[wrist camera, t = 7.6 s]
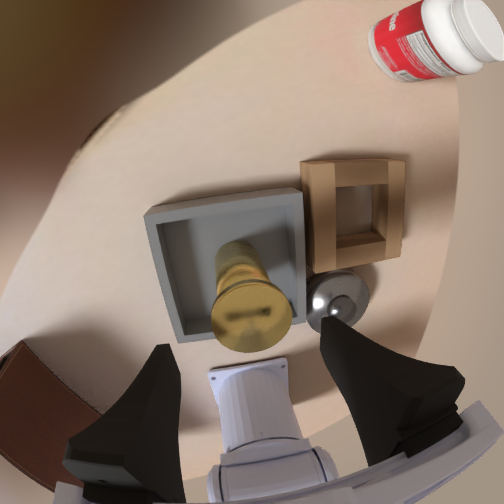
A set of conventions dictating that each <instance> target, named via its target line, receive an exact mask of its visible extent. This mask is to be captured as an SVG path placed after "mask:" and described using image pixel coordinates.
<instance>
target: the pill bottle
mask: <svg viewBox="0 0 504 504" xmlns="http://www.w3.org/2000/svg"><path fill="white" fill-rule="evenodd" d="M368 46H369V50H370V53H371V55H372V57H373V59H374V61H375V62H376V64H377V65H378V66H379V67H380V69H381V70H382V71H383V72H384V73H386V74H387V75H388V76H390V77H391V78H393V79H395V80H397V81H401V82H414V81H421V80H426V79H433V78H440V77H448V76H457V75H468V74H474V73H476V72H478V71H479V70H480V69H481V68H482V67H483V65H484V63H485V62H488V63H492V62H499V61H504V34H503V32H502V29H501V27H500V25H499V23H498V21H497V19H496V18H495V16H494V15H493V13H492V12H491V10H490V9H489V8H488V7H487V6H486V5H485V4H484V3H483V2H482V1H481V0H421V1H419V2H417V3H415V4H412V5H410V6H408V7H406V8H404V9H402V10H400V11H398V12H396V13H394V14H392V15H390V16H388V17H386V18H384V19H383V20H381V21H379V22H377V23H376V24H374V25H373V26H372V27H371V29H370V31H369V34H368Z"/></svg>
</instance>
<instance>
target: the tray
mask: <svg viewBox="0 0 504 504" xmlns="http://www.w3.org/2000/svg"><path fill="white" fill-rule="evenodd" d="M144 221H145V226H146V230H147V235H148V239H149V243H150V247H151V252H152V256H153V260H154V264H155V268H156V271H157V275H158V279H159V283H160V286H161V290H162V293H163V297H164V300H165V304H166V307H167V310H168V314H169V317H170V320H171V323H172V326H173V330H174V333H175V336H176V339H177V342H178V343H186V342H194V341H202V340H209V339H216V337H215V335H214V333H213V330H212V324H211V310H212V306H213V303H214V301H215V299H216V297H217V290H216V277H215V262H214V261H215V256H216V253H217V252H218V250H219V249H220V248H221V247H222V246H223V245H224V244H226V243H228V242H231V241H237V240H239V241H245V242H247V243H249V244H251V245H252V246H253V247H254V248H255V249H256V250H257V252H258V255H259V257H260V259H261V261H262V263H263V266H264V268H265V270H266V272H267V274H268V277H269V279H270V281H271V283H273V284H274V285H276V286H277V287H278V288H280V289H281V290H282V292H283V293H284V294H285V296H286V298H287V300H288V302H289V304H290V306H291V309H292V323H291V325H295V324H300V323H305V322H306V261H305V232H304V211H303V193H302V192H300V191H299V190H297V189H295V188H293V187H283V188H274V189H266V190H257V191H250V192H242V193H235V194H227V195H221V196H214V197H207V198H201V199H195V200H188V201H182V202H177V203H171V204H165V205H160V206H154V207H151V208H150V209H149V210H148V211H147V212H146V214H145V215H144Z"/></svg>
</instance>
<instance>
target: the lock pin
mask: <svg viewBox="0 0 504 504" xmlns="http://www.w3.org/2000/svg"><path fill="white" fill-rule="evenodd" d="M214 262H215V277H216V290H217V297H216V299H215V301H214V303H213V306H212V310H211V324H212V330H213V333H214V335H215V337H216V338H217V340H218V341H219V342H220V343H221V344H222V345H224V346H225V347H227V348H229V349H231V350H234V351H238V352H244V353H251V352H258V351H262V350H265V349H268V348H270V347H272V346H274V345H275V344H277V343H278V342H279V341H280V340H282V338H283V337H284V336H285V335H286V334H287V332H288V330H289V329H290V326H291V323H292V309H291V306H290V304H289V302H288V300H287V298H286V296H285V294H284V293H283V292H282V290H281V289H280V288H278V287H277V286H276V285H274V284H273V283H271V281H270V279H269V277H268V274H267V272H266V270H265V268H264V266H263V263H262V261H261V259H260V257H259V255H258V252H257V250H256V249H255V248H254V247H253V246H252V245H251V244H249V243H247V242H245V241H239V240H237V241H231V242H228V243H226V244H224V245H223V246H222V247H221V248H220V249H219V250H218V252H217V253H216V256H215V261H214Z"/></svg>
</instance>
